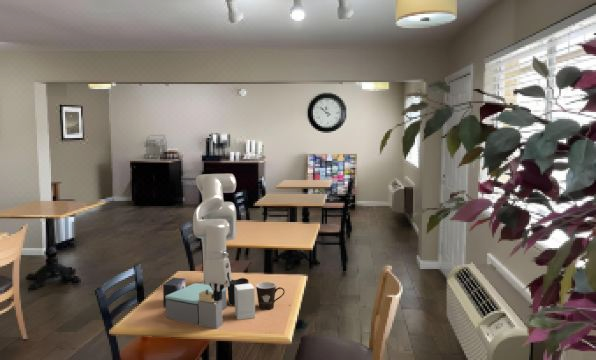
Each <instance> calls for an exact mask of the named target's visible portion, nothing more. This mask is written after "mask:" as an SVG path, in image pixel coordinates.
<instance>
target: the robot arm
mask: <svg viewBox="0 0 596 360" xmlns="http://www.w3.org/2000/svg"><path fill="white" fill-rule="evenodd" d="M195 183H196V186H197V189H198V190H199V192H200V194H201V199H202V202H201V203H200V204H198V206H197V207H196V208H195V210H194V213H193V217H192V228H193V229H192V231H193V234H194V236H195V237H196V239H197V238H198V239H201V247H202V267H203V269H202V270H203V275H202V276H203V280H202V281H201V282H200V284H205V285H210V287H211V288H212V291H213V295H214V301H220V300H221V299H222V290H223V289H224V288H226V289H227V288H228V287H229V286H230V284H229V282H230V281H231V280H232V271H231V270H232V269H231V263H230V259H229V255H230V253H229V252H227V242H228V241H229V242H230V241H233V240H235V238H236V235H237V208H236V206H235V203H234V202H232V201H225V200H224V193H225V194H226V193H227V194H229V193H234V192H235V191H236V188H237V180H236V177H235V175H234V174H233V173H210V174H209V173H207V174H206V173H205V174H199V175H197V177H196V179H195ZM202 218H203V219H202Z"/></svg>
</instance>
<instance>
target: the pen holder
mask: <svg viewBox="0 0 596 360" xmlns="http://www.w3.org/2000/svg"><path fill="white" fill-rule="evenodd" d="M229 284H230V286H229V287H227V299H228V304H229V305H231V306H233V307H235V290H234V286H235V285H240V284H249V279H247V278H244V277H241V278H237V279H231V281H230V282H229Z"/></svg>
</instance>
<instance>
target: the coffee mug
mask: <svg viewBox="0 0 596 360" xmlns="http://www.w3.org/2000/svg"><path fill="white" fill-rule="evenodd" d="M255 289H256V296H257V303H258V309H259V310H260V311H271V310H273V309H274V308H275V302H277V301H278V300H279V299H281V298H282V297H283V296H285V291H286V290H285V289H284V288H283V287H277V285H276V283H274V282H271V281H266V282H264V281H263V282H262V281H261V282H259V283H257V284H255ZM278 290H282V291H283V292H282V294H281V295H280V296H278V297H277V298H275V296H276V292H278Z"/></svg>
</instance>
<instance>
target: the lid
mask: <svg viewBox="0 0 596 360" xmlns="http://www.w3.org/2000/svg"><path fill="white" fill-rule="evenodd" d="M206 290H209V292H213V291H212V288H211V287H210V285H205V284H201V283H199V282H198V283H197V282H195V283H192V284H190V285H188V286H186V287H185V288H183V289H180V290H178V291H176V292H173V293H171V294H169V295H166V296H165V298H166V299H172V300H177V301H183V302H188V303H193V304H198V301H199V293H200V292H202V291H206ZM224 291H226V292H227V287H226V288H224V289H223V290H222V292H224Z"/></svg>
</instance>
